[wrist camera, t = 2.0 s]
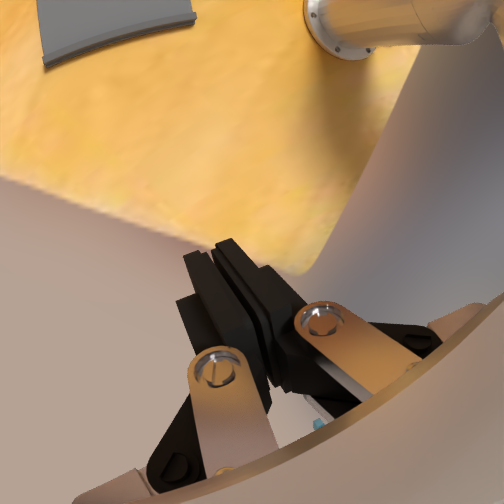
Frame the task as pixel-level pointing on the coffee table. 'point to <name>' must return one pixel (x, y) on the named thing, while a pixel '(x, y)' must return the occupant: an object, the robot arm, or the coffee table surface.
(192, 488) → the robot arm
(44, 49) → the slate mat
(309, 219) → the coffee table surface
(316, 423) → the data package
